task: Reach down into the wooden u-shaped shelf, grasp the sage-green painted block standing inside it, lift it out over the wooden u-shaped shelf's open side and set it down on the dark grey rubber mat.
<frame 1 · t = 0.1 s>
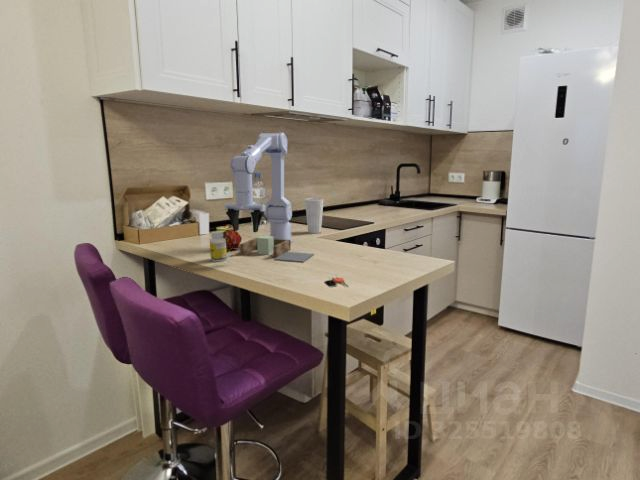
hand: (245, 231, 143), 10 cm above the table, tool pointing down, fingers open, 7 cm apart
wooden u-shaped shelf: (265, 252, 155), on the table
supplement bottle: (219, 260, 145), on the table
cup: (314, 232, 193), on the table
block: (265, 244, 154), in the wooden u-shaped shelf
mat: (294, 257, 147), on the table
dragon fruit: (230, 249, 161), on the table
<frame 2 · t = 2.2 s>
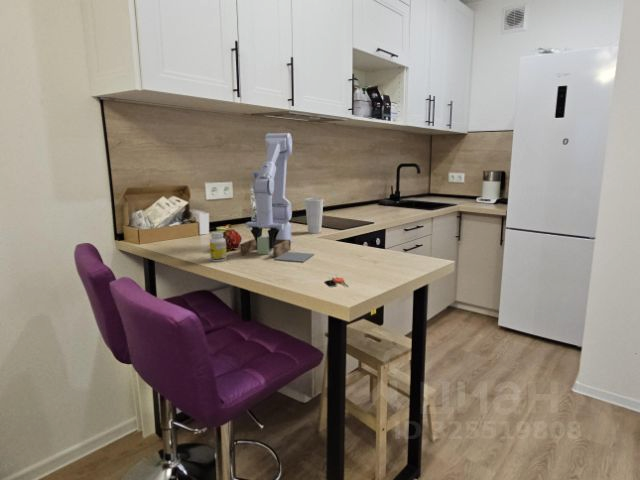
hand: (265, 247, 154), 2 cm above the table, tool pointing down, fingers closed on block, 4 cm apart
block: (265, 244, 154), in the wooden u-shaped shelf, touching gripper
everything else where it was.
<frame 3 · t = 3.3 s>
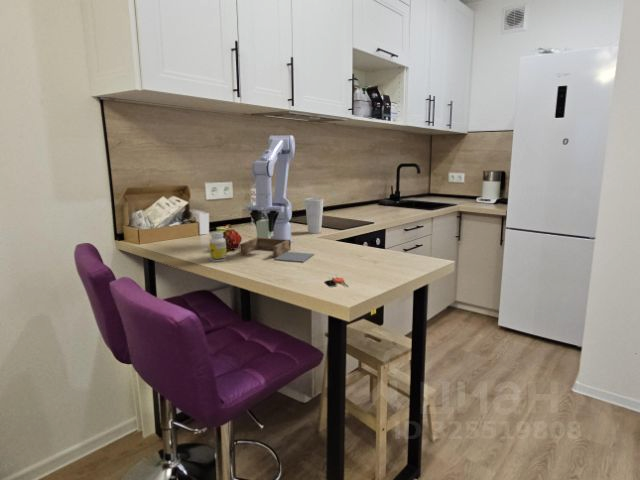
hand: (265, 230, 153), 8 cm above the table, tool pointing down, fingers closed on block, 4 cm apart
block: (264, 228, 153), point 9 cm above the table, touching gripper
everything else where it was.
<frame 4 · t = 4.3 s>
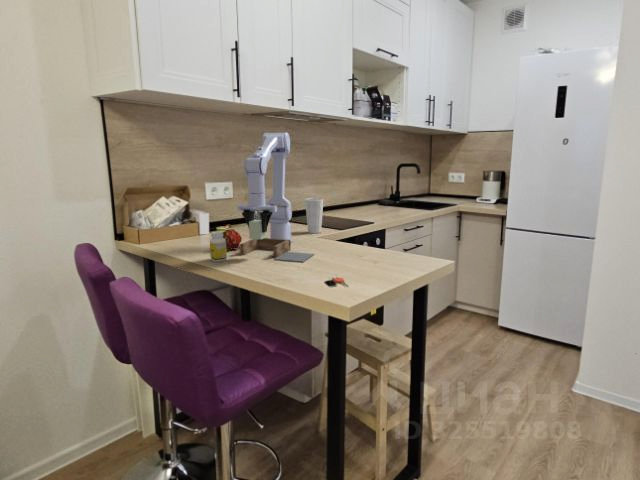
hand: (258, 231, 146), 9 cm above the table, tool pointing down, fingers closed on block, 4 cm apart
block: (258, 229, 146), point 10 cm above the table, touching gripper
everything else where it was.
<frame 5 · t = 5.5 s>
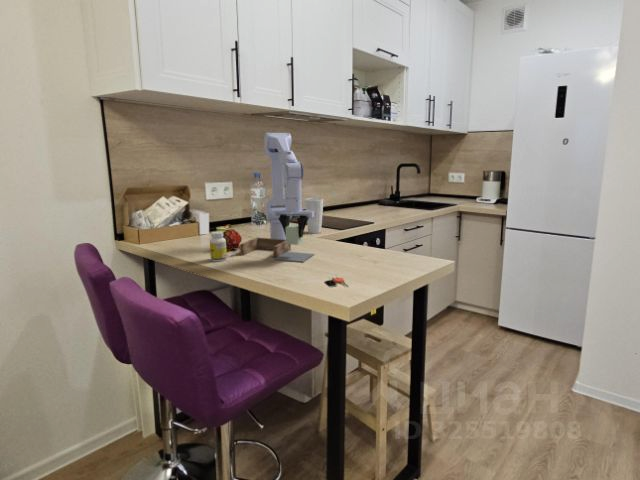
hand: (294, 236, 146), 8 cm above the table, tool pointing down, fingers closed on block, 4 cm apart
block: (294, 234, 146), point 8 cm above the table, touching gripper
everything else where it was.
when the fingers open (3 cm above the table, at t = 6.7 s): block stays where it is, resting on mat.
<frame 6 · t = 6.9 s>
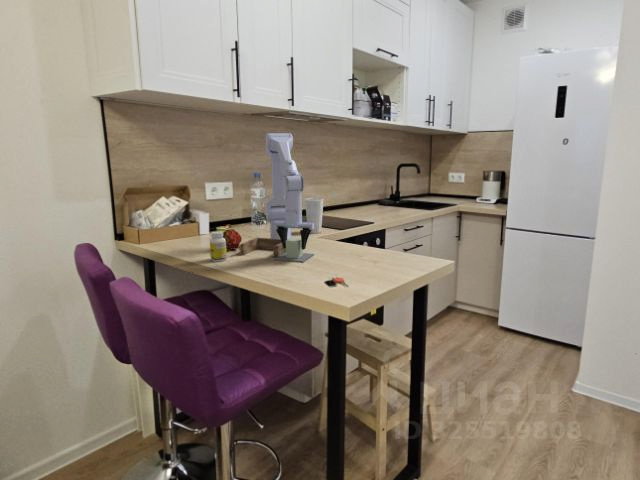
hand: (294, 248, 147), 3 cm above the table, tool pointing down, fingers open, 6 cm apart
block: (294, 248, 147), on the mat
everything else where it was.
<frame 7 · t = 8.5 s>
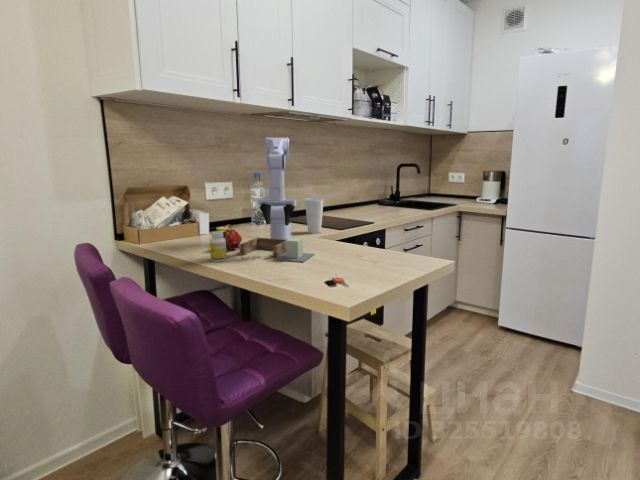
hand: (277, 224, 153), 10 cm above the table, tool pointing down, fingers open, 7 cm apart
nothing on the table moved.
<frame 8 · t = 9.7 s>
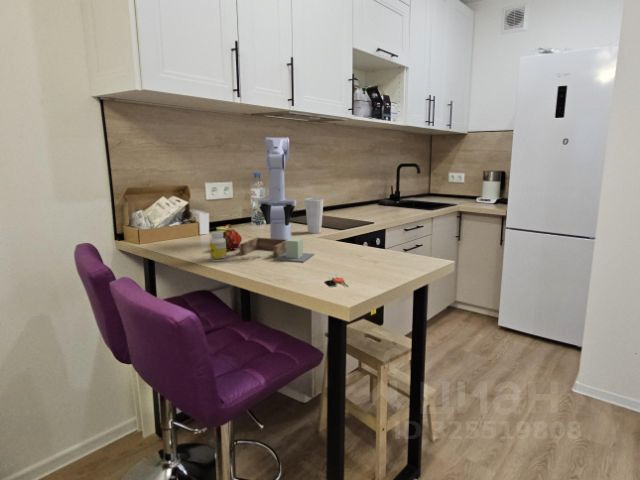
hand: (277, 224, 153), 10 cm above the table, tool pointing down, fingers open, 7 cm apart
nothing on the table moved.
at the end: block inside the target area on the mat (0.1 cm from its centre), point 3.4 cm above the mat's base; block inside the target area on the table beside the wooden u-shaped shelf (41.1 cm from its centre), resting on mat; the gripper is holding nothing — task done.
